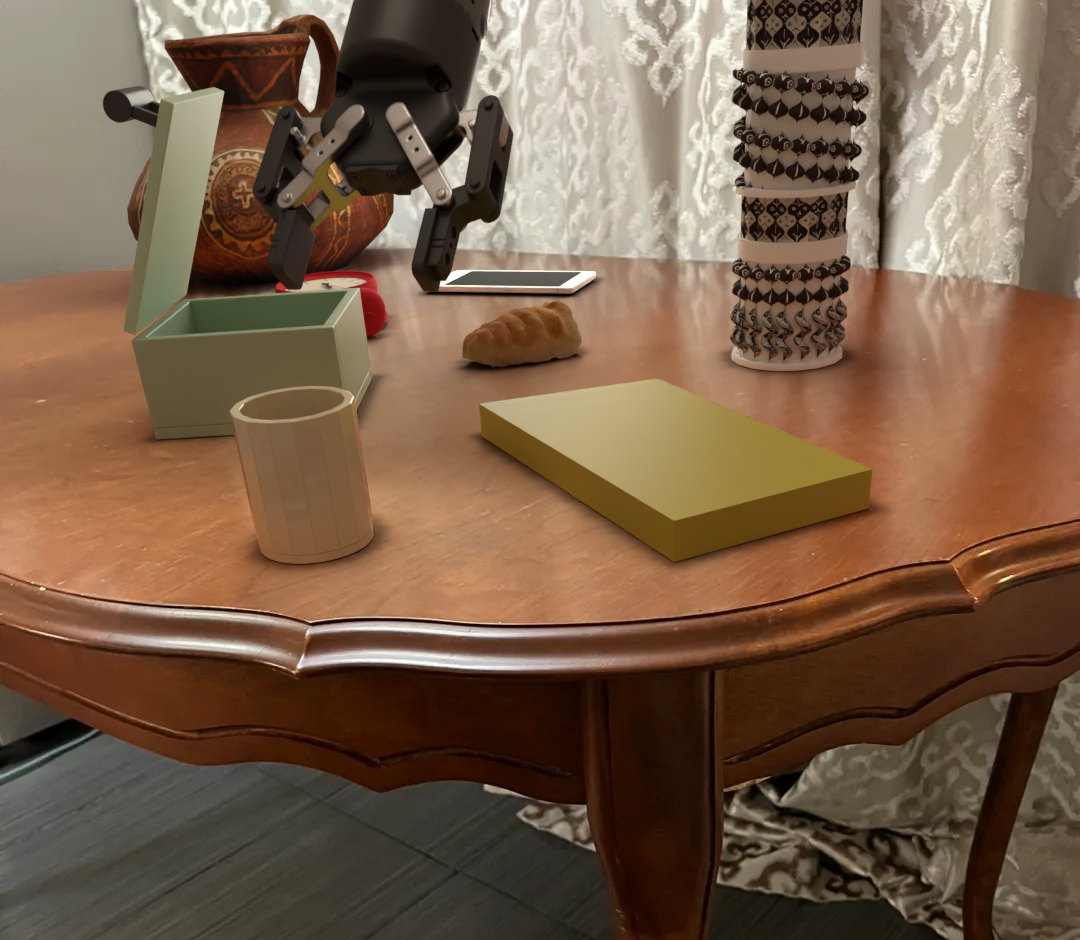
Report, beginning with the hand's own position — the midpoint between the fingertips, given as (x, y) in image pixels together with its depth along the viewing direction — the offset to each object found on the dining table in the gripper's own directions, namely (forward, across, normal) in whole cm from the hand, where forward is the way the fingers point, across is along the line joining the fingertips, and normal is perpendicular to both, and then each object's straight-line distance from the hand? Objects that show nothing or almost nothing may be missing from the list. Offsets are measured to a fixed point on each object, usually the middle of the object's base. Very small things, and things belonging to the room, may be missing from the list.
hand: (353, 282), depth 61 cm
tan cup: (+14, 0, +3) cm, 14 cm away
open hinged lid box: (-2, -16, +18) cm, 24 cm away
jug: (-36, -47, +53) cm, 80 cm away
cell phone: (-31, -13, +47) cm, 58 cm away
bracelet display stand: (-14, +19, +31) cm, 39 cm away
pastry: (-12, -2, +29) cm, 32 cm away
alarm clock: (-17, -23, +34) cm, 44 cm away
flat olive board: (+4, +15, +13) cm, 20 cm away
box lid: (-10, -20, +8) cm, 24 cm away
